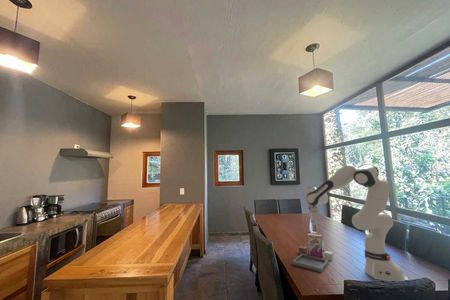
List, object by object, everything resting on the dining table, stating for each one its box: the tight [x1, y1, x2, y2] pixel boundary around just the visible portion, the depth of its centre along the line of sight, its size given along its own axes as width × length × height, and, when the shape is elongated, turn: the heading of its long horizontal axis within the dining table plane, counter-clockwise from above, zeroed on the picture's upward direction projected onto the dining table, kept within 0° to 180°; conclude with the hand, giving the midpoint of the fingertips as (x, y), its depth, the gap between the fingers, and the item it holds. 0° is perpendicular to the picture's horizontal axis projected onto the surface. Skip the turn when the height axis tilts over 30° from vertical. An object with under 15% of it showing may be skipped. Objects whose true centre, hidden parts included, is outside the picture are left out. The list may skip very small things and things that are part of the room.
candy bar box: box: [306, 233, 324, 259], centre depth 167 cm, size 11×5×16 cm, turn 59°
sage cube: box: [323, 250, 334, 261], centre depth 160 cm, size 5×5×5 cm
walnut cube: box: [298, 245, 308, 255], centre depth 172 cm, size 5×5×5 cm
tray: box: [292, 254, 330, 273], centre depth 152 cm, size 20×18×2 cm
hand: (313, 223), depth 169 cm, fingers open, 8 cm apart
